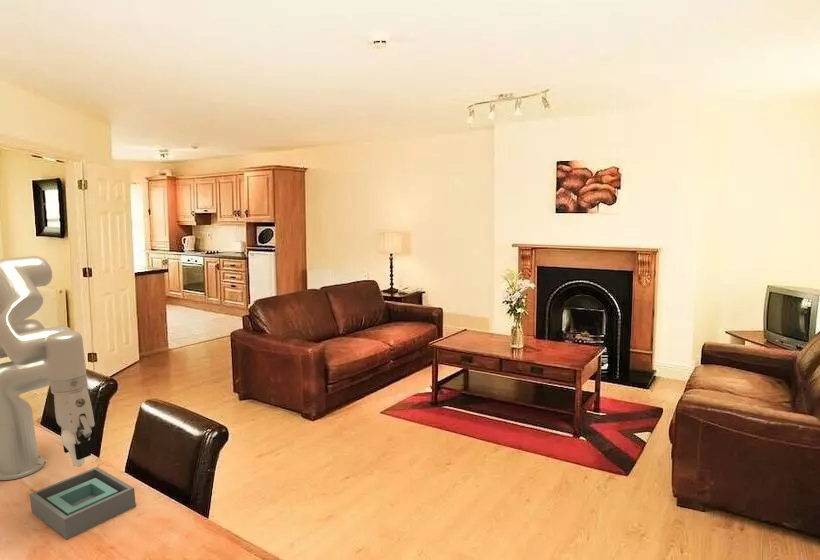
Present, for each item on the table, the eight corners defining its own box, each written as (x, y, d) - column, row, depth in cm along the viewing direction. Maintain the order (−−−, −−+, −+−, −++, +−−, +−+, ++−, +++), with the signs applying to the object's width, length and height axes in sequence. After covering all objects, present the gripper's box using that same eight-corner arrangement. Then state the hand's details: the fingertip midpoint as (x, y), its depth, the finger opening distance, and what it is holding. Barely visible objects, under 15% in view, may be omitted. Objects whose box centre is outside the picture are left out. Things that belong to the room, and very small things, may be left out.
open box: (135, 506, 136) (134, 487, 136) (66, 539, 124) (64, 519, 123) (98, 484, 147) (96, 466, 146) (31, 512, 134) (29, 493, 134)
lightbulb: (99, 461, 136) (94, 420, 134) (80, 474, 130) (75, 430, 128) (78, 459, 137) (73, 418, 135) (58, 471, 131) (53, 428, 129)
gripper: (102, 385, 128) (110, 457, 131) (69, 372, 138) (77, 439, 141) (68, 395, 122) (77, 470, 125) (36, 381, 132) (45, 451, 135)
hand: (77, 453), depth 133 cm, fingers closed on lightbulb, 5 cm apart
